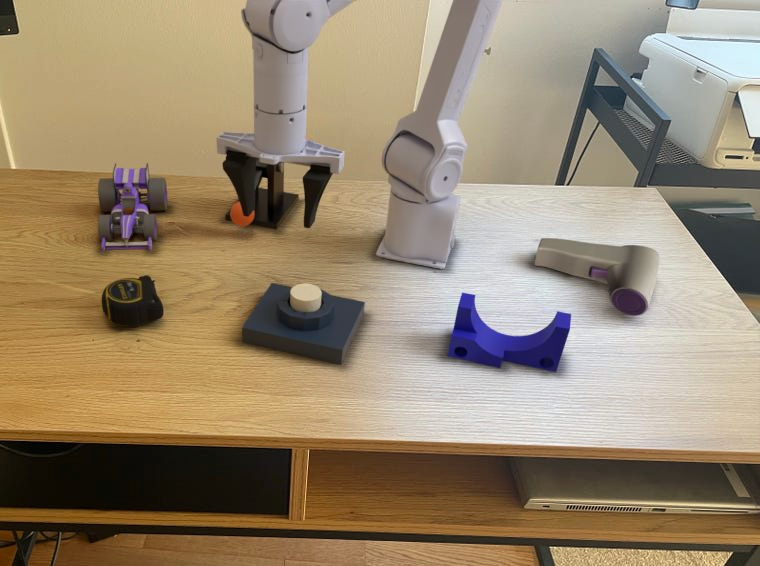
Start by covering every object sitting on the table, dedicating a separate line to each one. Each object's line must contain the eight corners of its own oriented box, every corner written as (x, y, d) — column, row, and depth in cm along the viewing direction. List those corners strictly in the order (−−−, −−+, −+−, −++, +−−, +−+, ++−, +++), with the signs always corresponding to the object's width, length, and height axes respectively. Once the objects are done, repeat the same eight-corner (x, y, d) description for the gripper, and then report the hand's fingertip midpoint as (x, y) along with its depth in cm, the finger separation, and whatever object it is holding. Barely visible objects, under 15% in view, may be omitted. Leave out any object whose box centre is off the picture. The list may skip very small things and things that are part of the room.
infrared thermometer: (538, 257, 104) (654, 277, 99) (521, 301, 95) (647, 325, 90) (544, 227, 101) (663, 246, 96) (527, 270, 93) (657, 293, 87)
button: (324, 299, 87) (325, 286, 86) (315, 315, 84) (316, 303, 83) (295, 293, 88) (296, 280, 87) (285, 309, 85) (286, 296, 84)
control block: (363, 316, 91) (366, 289, 88) (341, 365, 83) (343, 337, 81) (271, 297, 93) (271, 270, 91) (242, 342, 86) (241, 314, 84)
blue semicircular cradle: (447, 356, 85) (455, 313, 81) (453, 334, 88) (462, 292, 84) (555, 380, 82) (569, 337, 78) (557, 356, 85) (571, 313, 81)
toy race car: (91, 253, 101) (84, 210, 97) (105, 202, 112) (98, 162, 108) (162, 252, 101) (157, 209, 97) (168, 201, 113) (164, 161, 109)
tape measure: (166, 327, 88) (163, 301, 86) (108, 336, 86) (103, 310, 84) (156, 296, 93) (153, 270, 91) (101, 304, 91) (96, 279, 89)
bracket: (276, 231, 106) (277, 171, 101) (225, 221, 108) (223, 161, 102) (298, 201, 114) (300, 143, 108) (250, 192, 116) (249, 135, 110)
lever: (252, 233, 103) (247, 218, 100) (229, 228, 104) (224, 213, 101) (278, 166, 108) (275, 150, 105) (256, 163, 109) (253, 146, 106)
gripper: (203, 107, 78) (209, 222, 87) (334, 128, 75) (327, 245, 83) (229, 86, 83) (232, 196, 92) (353, 104, 80) (344, 217, 88)
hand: (278, 218), depth 88 cm, fingers open, 7 cm apart
